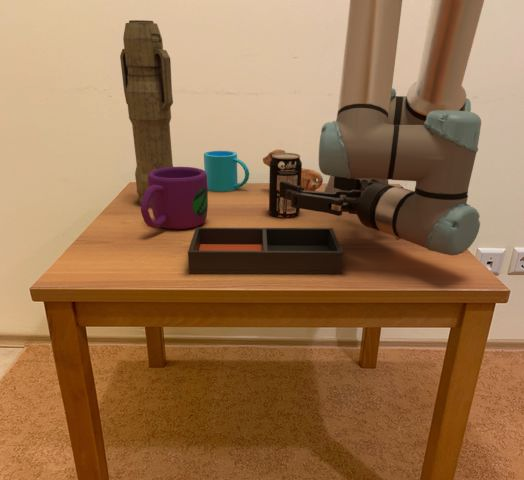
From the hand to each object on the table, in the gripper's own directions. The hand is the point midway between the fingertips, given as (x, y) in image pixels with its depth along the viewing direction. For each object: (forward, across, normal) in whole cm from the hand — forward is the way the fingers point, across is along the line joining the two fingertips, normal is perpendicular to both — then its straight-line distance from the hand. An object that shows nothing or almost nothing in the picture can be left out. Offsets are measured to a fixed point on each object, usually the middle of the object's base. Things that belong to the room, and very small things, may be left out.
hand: (309, 184), depth 100 cm
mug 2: (+34, +2, -8) cm, 35 cm away
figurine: (+20, +11, -8) cm, 24 cm away
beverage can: (+8, 0, -8) cm, 11 cm away
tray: (-12, -19, -8) cm, 24 cm away
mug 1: (+12, -24, -8) cm, 28 cm away
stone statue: (+31, -19, -8) cm, 37 cm away
